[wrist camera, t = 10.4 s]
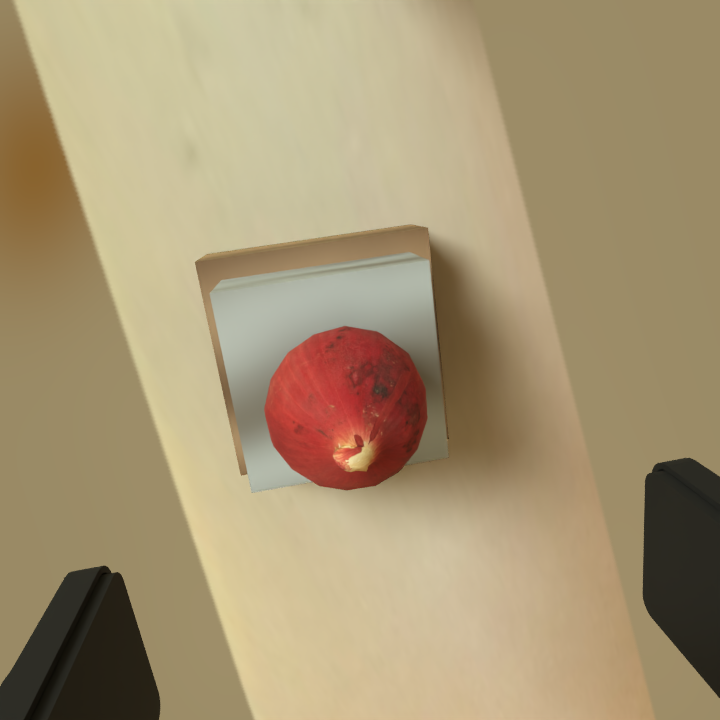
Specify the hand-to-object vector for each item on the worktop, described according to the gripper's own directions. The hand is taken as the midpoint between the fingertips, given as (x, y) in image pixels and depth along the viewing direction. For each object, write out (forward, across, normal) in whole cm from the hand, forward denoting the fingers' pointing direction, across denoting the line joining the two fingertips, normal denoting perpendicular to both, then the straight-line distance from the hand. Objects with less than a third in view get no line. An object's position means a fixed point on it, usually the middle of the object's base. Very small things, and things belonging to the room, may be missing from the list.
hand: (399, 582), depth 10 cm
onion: (+15, 0, +1) cm, 15 cm away
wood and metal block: (+23, 0, +1) cm, 23 cm away
